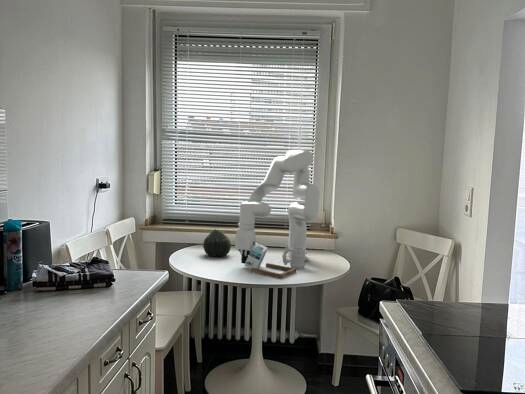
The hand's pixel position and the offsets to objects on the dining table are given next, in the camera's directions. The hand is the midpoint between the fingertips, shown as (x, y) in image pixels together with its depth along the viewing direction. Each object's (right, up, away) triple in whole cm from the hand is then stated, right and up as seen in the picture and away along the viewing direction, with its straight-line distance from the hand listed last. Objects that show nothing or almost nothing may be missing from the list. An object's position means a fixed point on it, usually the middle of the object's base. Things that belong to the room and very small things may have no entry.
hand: (244, 262), depth 227 cm
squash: (-17, 0, +23) cm, 29 cm away
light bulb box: (+4, -2, -2) cm, 5 cm away
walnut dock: (+14, -3, -8) cm, 16 cm away
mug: (+25, -3, +3) cm, 25 cm away
